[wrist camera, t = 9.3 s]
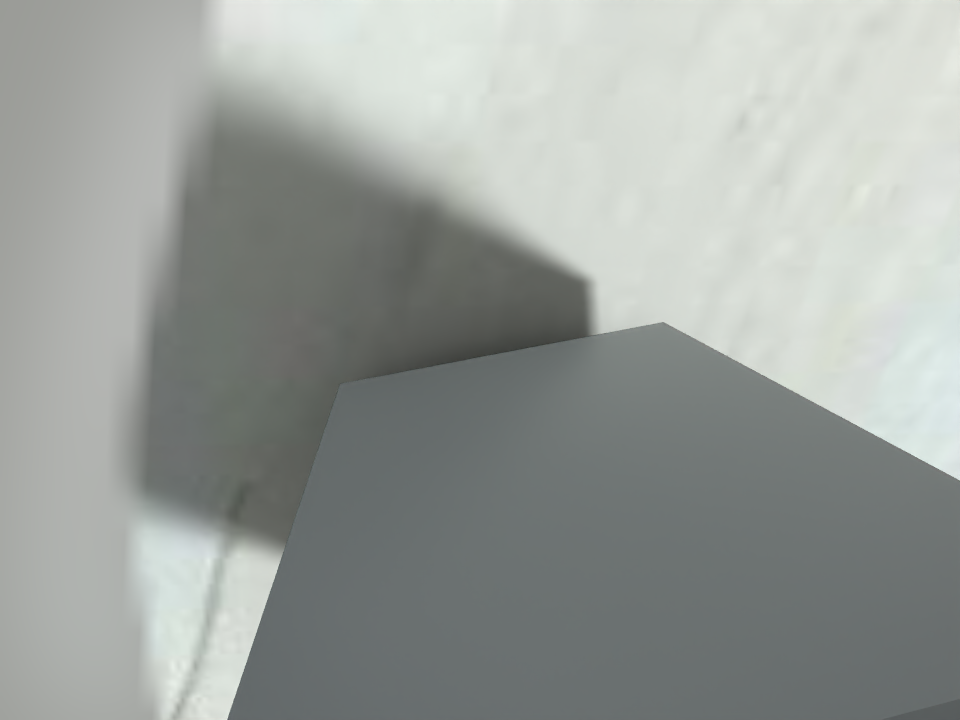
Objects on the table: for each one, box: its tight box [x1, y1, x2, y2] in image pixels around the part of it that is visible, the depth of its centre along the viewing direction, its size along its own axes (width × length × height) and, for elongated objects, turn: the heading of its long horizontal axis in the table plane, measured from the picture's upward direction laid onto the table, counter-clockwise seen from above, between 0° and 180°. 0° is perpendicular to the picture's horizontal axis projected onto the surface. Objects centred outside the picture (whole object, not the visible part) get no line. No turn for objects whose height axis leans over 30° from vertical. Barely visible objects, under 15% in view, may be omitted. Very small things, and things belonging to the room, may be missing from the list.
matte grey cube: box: [227, 322, 960, 720], centre depth 9 cm, size 8×8×9 cm
